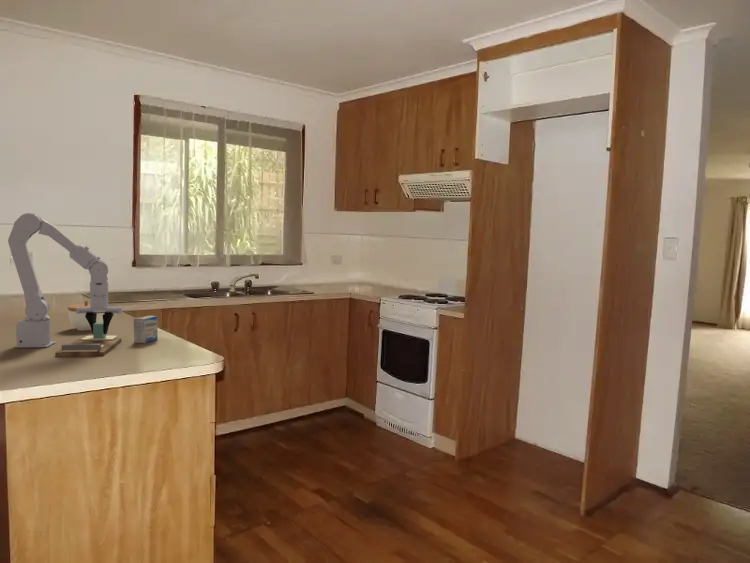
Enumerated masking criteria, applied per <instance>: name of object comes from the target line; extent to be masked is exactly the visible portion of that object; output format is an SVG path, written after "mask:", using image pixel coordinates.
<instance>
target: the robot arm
mask: <svg viewBox="0 0 750 563" xmlns="http://www.w3.org/2000/svg"><path fill="white" fill-rule="evenodd" d="M36 233H38V234H39V235H41V236H42V235H43V236H47V237H49V238H51V239H52V240H53V241H55V242H56V243H58V244H59V245H60V246H61V247H62V248H64V249H65V250H66V251H68V252H69V258H70V259H72V260H73V261H74V262H75V263H77V265H79V266H80V267H81V268H82V269H84V270H88V273H89V275H90V281H89V299H90V300H89V304H90V307H78V308H76V314H80V313H86V315H85V318H86V319H87V321H88V322H89V324H90V327H91V330H90V331H91V333H92V335H93V324H95V323H96V316H97V313H104V314H103V315H102V316H103V320H102V322H103V324H104V328H103V332H104V334H106V335H107V334H108V330H109V327H110V323H111V320H112V318H113V317H114V314H117V315H121V314H122V313H123V307H117V306H116V307H114V306H109V282H108V278H109V277H108V274H109V268H108V265H107V263H106V262H105V261H104V260H102V259H101V257H100V256H97V255H96V254H94V253H93V252H92V251H91V250H89V249H90V247H88V246H87V245H86V246H84V245H83V244H76V243H74V242H73V241H72V240H71V239H70V238H69V237H68V236H66V235H65V234H64V233H63V232H62V231H60V230H59V229H58V228H57V227H56V226H55V225H54V224H52V223H50V222H49V221H47V220H46V219H43V218H41V216H39V215H38V214H36V213H30V212H29V213H28V212H27V213H23V214H21V215H20V216H19V217H18V218H17V219H16V220H15V221H14V222H13V226H12V229H11V230H10V234H9V236H8V239H7V244H8V246H9V249H10V252H11V256H12V259H13V262H14V264H15V265H14V266H15V269H16V271H17V272H16V273H17V274H18V278H19V283H20V284H21V288H22V290H23V296H24V301H25V308H24V314H25V316H26V317H25V318H24V319H19V320H18V321H17V323H16V328H15V331H16V332H15V333H16V336H15V337H16V346H15V348H19V349H20V348H48V347H50V346H51V345H54V344H55V343H56V341H54V340H52V336H51V333H52V332H51V317H50V316H49V315H48V314H47V313H48V312H49V310H50V303H49V302H48V300H46V299H45V297H44V295H43V293H42V290H41V289H40V284H39V282H38V279H37V278H38V277H37V274H36V272H35V268H34V265H33V261H32V258H31V255H30V252H29V249H28V245H27V244H28V242H29V240H30V239H31V238H32V237H33V235H35V234H36ZM93 311H104V312H93Z"/></svg>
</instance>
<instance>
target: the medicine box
mask: <svg viewBox="0 0 750 563" xmlns="http://www.w3.org/2000/svg"><path fill="white" fill-rule="evenodd" d="M158 338H159V337H158V316H156V315H145V316H141V317H136V318H133V342H134V343H136V344H147V342H148V343H150V341H151V342H153V340H154V341H156V340H158Z"/></svg>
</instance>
